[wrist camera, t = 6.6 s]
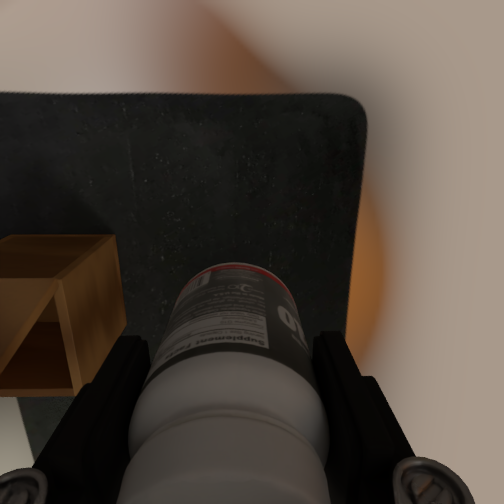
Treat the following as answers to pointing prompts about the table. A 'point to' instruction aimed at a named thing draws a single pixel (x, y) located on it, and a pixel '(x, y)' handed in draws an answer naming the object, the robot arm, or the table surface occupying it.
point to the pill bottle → (230, 400)
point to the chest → (64, 311)
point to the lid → (21, 310)
